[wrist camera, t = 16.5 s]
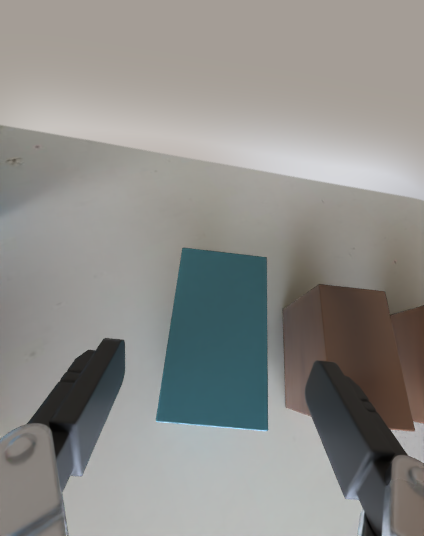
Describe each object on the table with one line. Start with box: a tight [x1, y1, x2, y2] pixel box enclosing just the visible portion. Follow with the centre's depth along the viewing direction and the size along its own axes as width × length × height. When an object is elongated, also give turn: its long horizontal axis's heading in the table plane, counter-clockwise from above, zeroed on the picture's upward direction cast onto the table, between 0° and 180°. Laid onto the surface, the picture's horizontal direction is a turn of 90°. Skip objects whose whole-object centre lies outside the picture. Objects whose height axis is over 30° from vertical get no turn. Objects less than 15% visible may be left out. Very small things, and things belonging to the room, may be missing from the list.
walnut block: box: [283, 284, 415, 431], centre depth 18 cm, size 5×8×7 cm, turn 175°
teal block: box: [156, 248, 268, 431], centre depth 16 cm, size 5×8×10 cm, turn 175°
